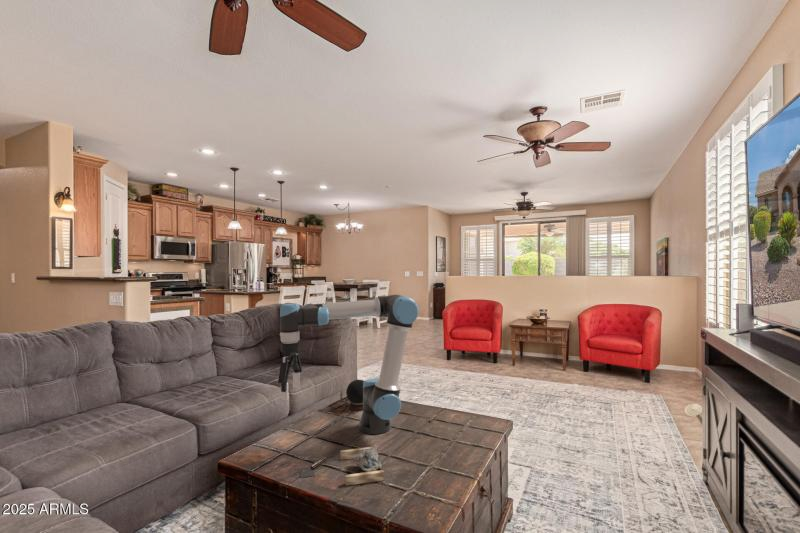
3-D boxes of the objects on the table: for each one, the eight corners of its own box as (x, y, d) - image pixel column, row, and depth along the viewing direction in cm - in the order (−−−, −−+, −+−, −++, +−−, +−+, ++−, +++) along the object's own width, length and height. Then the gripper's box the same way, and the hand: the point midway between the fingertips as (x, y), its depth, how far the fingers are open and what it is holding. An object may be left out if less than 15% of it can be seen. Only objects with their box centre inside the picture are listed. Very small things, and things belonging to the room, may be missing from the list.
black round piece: (372, 403, 215) (372, 376, 215) (368, 412, 202) (368, 384, 202) (349, 402, 216) (349, 376, 216) (343, 411, 203) (343, 383, 203)
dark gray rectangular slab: (314, 470, 145) (314, 469, 145) (314, 476, 141) (314, 475, 141) (300, 472, 144) (300, 471, 144) (300, 477, 140) (300, 477, 140)
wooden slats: (374, 453, 158) (374, 446, 158) (384, 480, 138) (384, 471, 138) (340, 458, 154) (340, 450, 154) (345, 485, 135) (345, 477, 135)
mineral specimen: (368, 485, 144) (373, 464, 153) (382, 474, 142) (387, 454, 151) (349, 469, 143) (355, 449, 152) (364, 458, 140) (369, 438, 150)
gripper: (291, 335, 169) (292, 383, 169) (268, 348, 144) (269, 404, 144) (308, 335, 168) (309, 383, 168) (287, 348, 143) (288, 404, 144)
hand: (290, 393), depth 156 cm, fingers open, 13 cm apart
